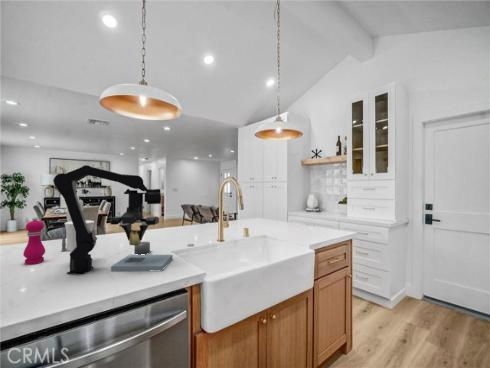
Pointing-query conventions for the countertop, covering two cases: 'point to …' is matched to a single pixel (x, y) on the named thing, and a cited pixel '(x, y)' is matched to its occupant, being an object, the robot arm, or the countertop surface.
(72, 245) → the cup
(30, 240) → the pepper mill
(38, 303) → the countertop surface
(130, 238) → the brass fitting
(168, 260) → the socket board
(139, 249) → the black coupling
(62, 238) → the skyscraper
